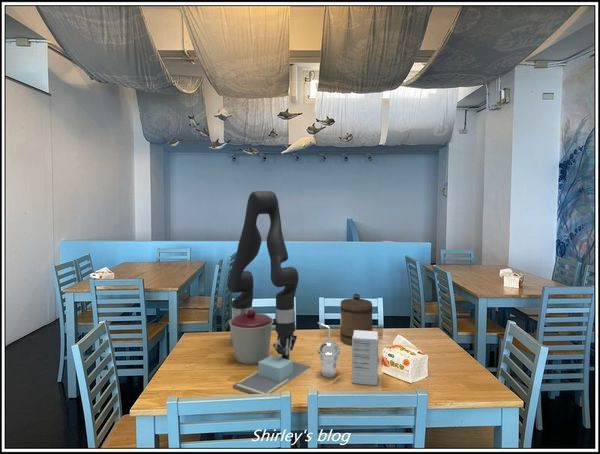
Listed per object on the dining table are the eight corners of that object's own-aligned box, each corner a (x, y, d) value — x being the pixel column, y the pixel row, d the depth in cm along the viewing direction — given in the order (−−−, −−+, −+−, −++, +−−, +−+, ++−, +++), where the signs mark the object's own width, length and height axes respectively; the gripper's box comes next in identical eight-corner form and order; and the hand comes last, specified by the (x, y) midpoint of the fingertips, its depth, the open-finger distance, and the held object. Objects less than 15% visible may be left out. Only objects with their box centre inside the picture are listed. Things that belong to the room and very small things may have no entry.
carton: (258, 375, 148) (258, 362, 148) (271, 367, 155) (271, 354, 155) (279, 382, 143) (279, 368, 142) (292, 373, 149) (292, 360, 149)
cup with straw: (324, 384, 143) (324, 329, 142) (313, 373, 152) (313, 322, 150) (344, 379, 147) (344, 326, 145) (332, 370, 155) (333, 319, 153)
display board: (232, 387, 141) (232, 384, 141) (280, 360, 164) (280, 357, 164) (266, 399, 133) (266, 395, 132) (311, 369, 156) (311, 365, 156)
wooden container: (354, 332, 197) (354, 288, 195) (378, 340, 186) (379, 294, 184) (333, 340, 187) (333, 293, 185) (358, 348, 176) (358, 300, 175)
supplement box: (377, 386, 142) (378, 339, 140) (351, 383, 144) (351, 338, 142) (377, 374, 151) (378, 330, 150) (353, 372, 153) (353, 329, 152)
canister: (227, 354, 170) (226, 306, 169) (268, 349, 176) (268, 302, 174) (233, 372, 153) (232, 318, 152) (278, 366, 159) (278, 314, 157)
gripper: (287, 313, 160) (287, 355, 161) (266, 322, 149) (267, 367, 150) (302, 316, 156) (303, 359, 157) (283, 325, 145) (283, 372, 146)
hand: (285, 363), depth 154 cm, fingers closed
